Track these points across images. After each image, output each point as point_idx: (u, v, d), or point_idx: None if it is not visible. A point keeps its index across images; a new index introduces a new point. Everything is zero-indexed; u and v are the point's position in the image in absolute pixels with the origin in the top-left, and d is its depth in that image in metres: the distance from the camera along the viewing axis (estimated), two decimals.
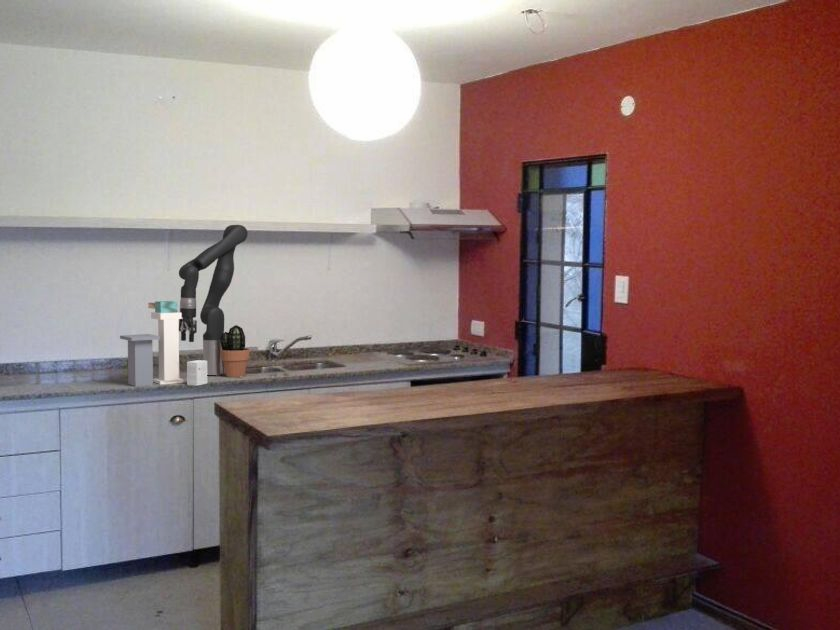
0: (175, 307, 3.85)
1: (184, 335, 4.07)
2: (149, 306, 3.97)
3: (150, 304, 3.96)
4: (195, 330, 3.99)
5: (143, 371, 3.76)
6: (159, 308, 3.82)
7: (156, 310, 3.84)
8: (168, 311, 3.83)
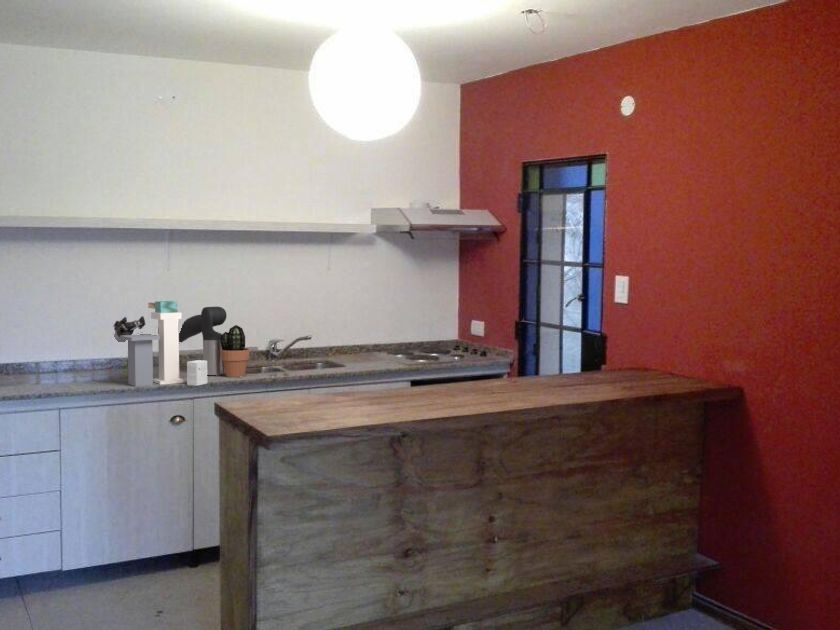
0: (175, 307, 3.85)
1: None
2: (149, 306, 3.97)
3: (150, 304, 3.96)
4: None
5: (143, 371, 3.76)
6: (159, 308, 3.82)
7: (156, 310, 3.84)
8: (168, 311, 3.83)
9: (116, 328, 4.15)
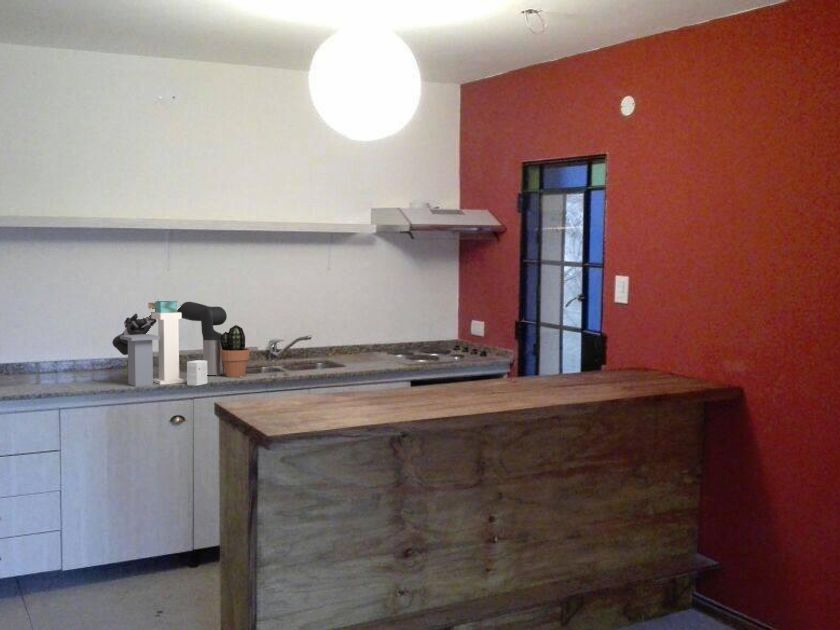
0: (175, 307, 3.85)
1: None
2: (149, 306, 3.97)
3: (150, 304, 3.96)
4: None
5: (143, 371, 3.76)
6: (159, 308, 3.82)
7: (156, 310, 3.84)
8: (168, 311, 3.83)
9: (127, 325, 4.04)
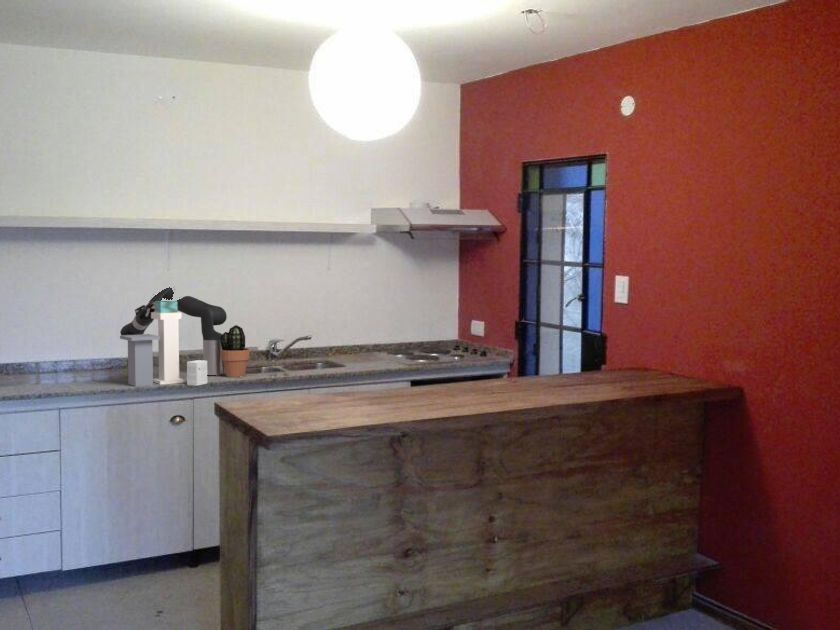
0: (175, 307, 3.85)
1: None
2: None
3: None
4: None
5: (143, 371, 3.76)
6: (159, 308, 3.82)
7: (156, 310, 3.84)
8: (168, 311, 3.83)
9: (139, 313, 3.96)
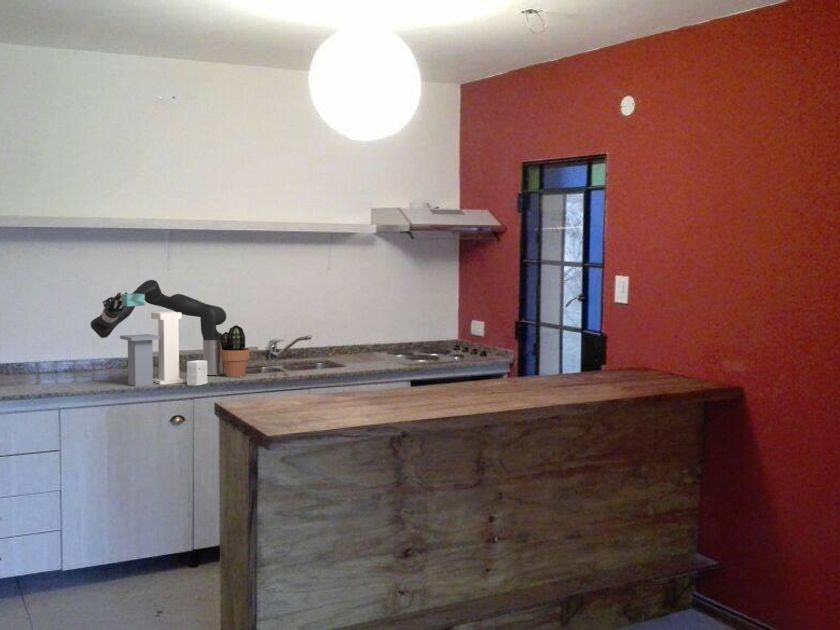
0: (142, 300, 3.80)
1: None
2: None
3: None
4: None
5: (143, 371, 3.76)
6: (125, 301, 3.77)
7: (123, 303, 3.79)
8: (135, 304, 3.78)
9: (107, 304, 3.91)
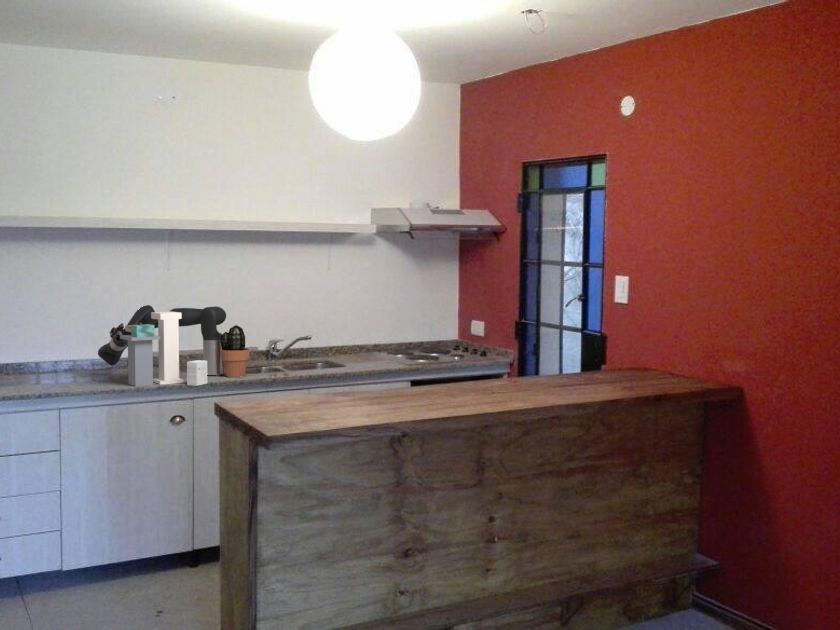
0: (152, 331, 3.75)
1: None
2: (126, 329, 3.87)
3: (127, 327, 3.86)
4: None
5: (143, 371, 3.76)
6: (135, 332, 3.72)
7: (132, 334, 3.74)
8: (145, 335, 3.73)
9: (112, 335, 3.86)
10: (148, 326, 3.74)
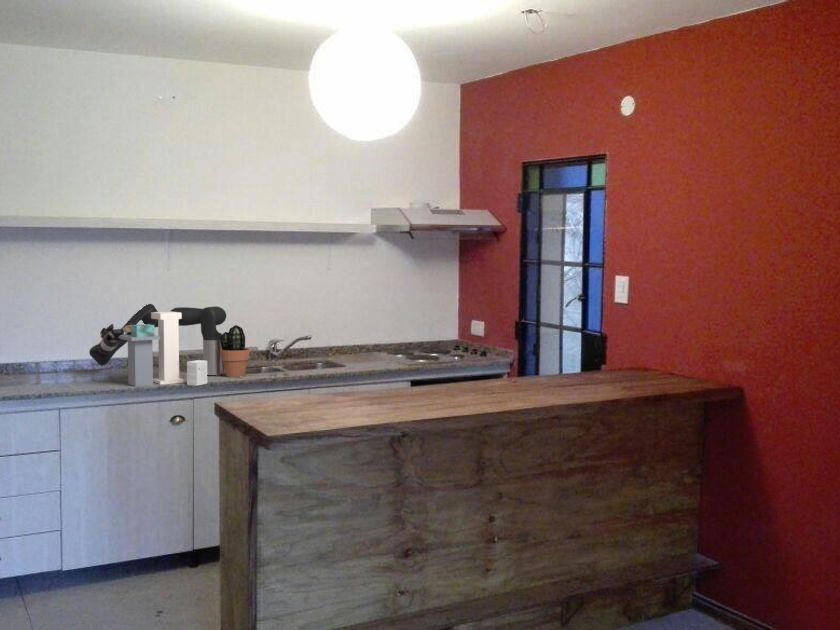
0: (152, 331, 3.75)
1: None
2: (126, 329, 3.87)
3: (127, 327, 3.86)
4: None
5: (143, 371, 3.76)
6: (135, 332, 3.72)
7: (132, 334, 3.74)
8: (145, 335, 3.73)
9: (103, 336, 3.95)
10: (148, 326, 3.74)
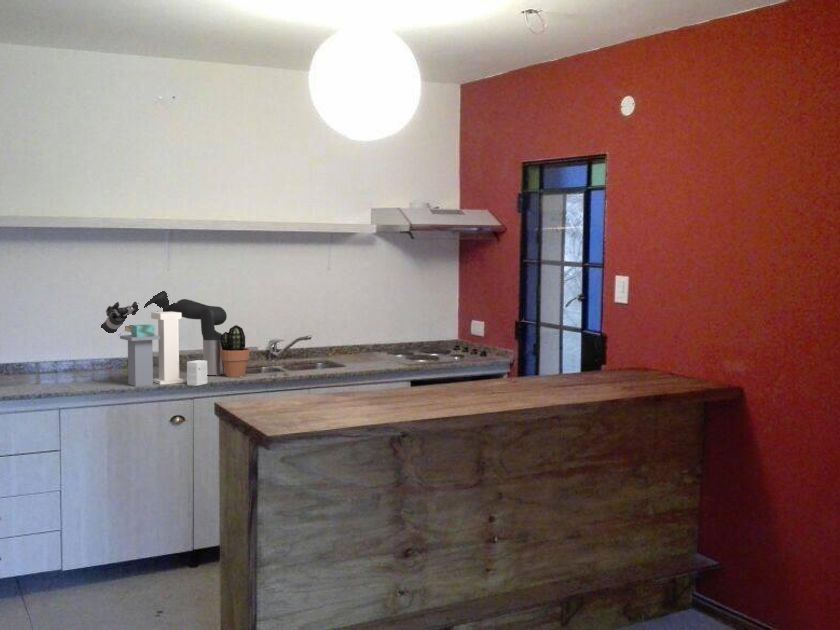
0: (152, 331, 3.75)
1: None
2: (126, 329, 3.87)
3: (127, 327, 3.86)
4: None
5: (143, 371, 3.76)
6: (135, 332, 3.72)
7: (132, 334, 3.74)
8: (145, 335, 3.73)
9: (108, 314, 4.06)
10: (148, 326, 3.74)
